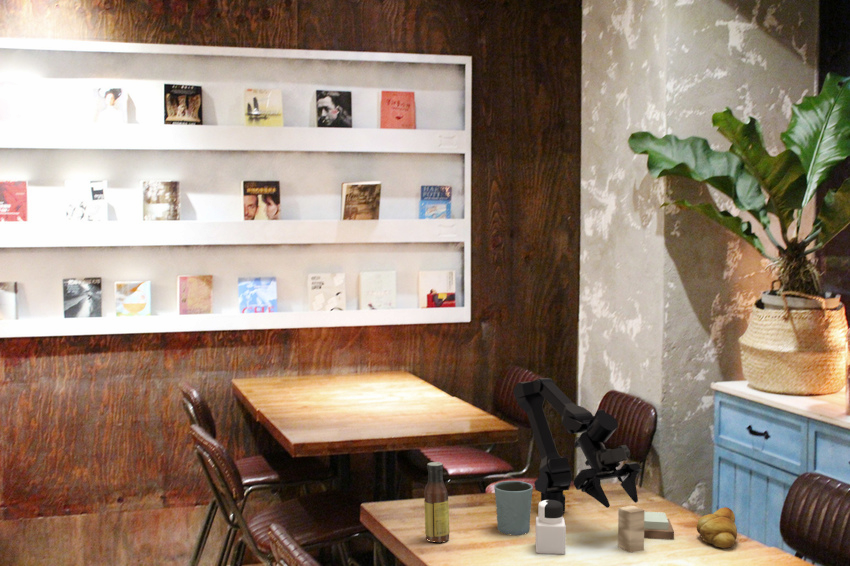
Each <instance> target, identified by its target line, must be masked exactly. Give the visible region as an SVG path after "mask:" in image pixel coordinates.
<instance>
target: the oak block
mask: <svg viewBox="0 0 850 566" xmlns="http://www.w3.org/2000/svg"><path fill="white" fill-rule="evenodd" d="M644 512H646V511H645V509H643V508H640V507H638V506H635V505H627V506H621V507H618V519H617V523H618V524H617V531H618V532H617V548H619V549H621V550H623V551H626V552H628V553H635V552H639V551H644V550H645V538H644Z"/></svg>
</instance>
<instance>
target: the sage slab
mask: <svg viewBox="0 0 850 566" xmlns="http://www.w3.org/2000/svg"><path fill="white" fill-rule="evenodd" d="M668 519H669V518H668V517H667V515H666V513H665V512H662V511H660V512H659V511H645V512H644V529H658V530H669V522H668Z"/></svg>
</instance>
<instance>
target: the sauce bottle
mask: <svg viewBox="0 0 850 566" xmlns="http://www.w3.org/2000/svg"><path fill="white" fill-rule="evenodd" d="M426 468H427V471H428V473H427V474H428V475H427V476H428V477H427V480H428V481H427V483H426V484H425V487H424V493H423V494H424V504H423V505H424V531H425V532H424V534H425V538H427V539H428V540H430V541H435V542H442V543H444V542H443V541H446V542H447V541H449V539H450V511H449V509H450V508H449V507H450V506H449V495H448V490H447V489H448V488H446V485H445V483H444V477H443V476H444V475H443V469H444V464H443V463H442V462H440V461H431V462H428V463H427V465H426ZM427 539H426V540H427ZM428 540H427V541H428Z"/></svg>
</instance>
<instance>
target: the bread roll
mask: <svg viewBox="0 0 850 566" xmlns="http://www.w3.org/2000/svg"><path fill="white" fill-rule="evenodd" d="M735 515H736V514H735V513H734V511H733V509H731V508H730V507H727V506H725V507H721V508H718V509H717V510H716V511H714V512H713V513H708V514H705V515H703V516H702V517H701V516H700V518H698V520H697V522H696V523H697V524H696V531H697V532H698V534H699V535H700V536H701V539H702V540H703V541H704V542H706V543H709V544H712V545H714V546H715V547H718V548H727V549H728V548H731V547H733V546H734V544H735V541H736V539H737V538H738V530H737V529H738V527H737V525H736V523H735V522H736V516H735Z"/></svg>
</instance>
